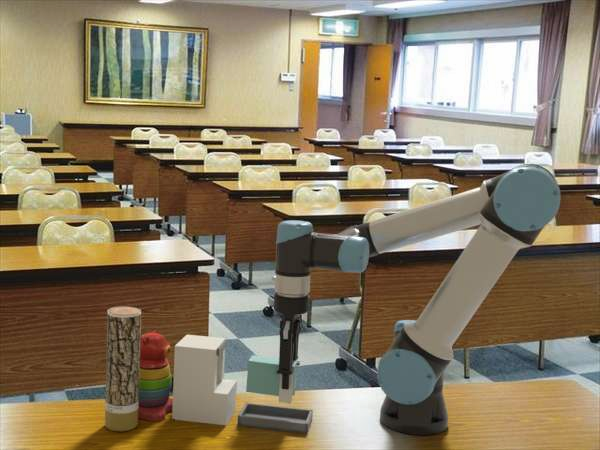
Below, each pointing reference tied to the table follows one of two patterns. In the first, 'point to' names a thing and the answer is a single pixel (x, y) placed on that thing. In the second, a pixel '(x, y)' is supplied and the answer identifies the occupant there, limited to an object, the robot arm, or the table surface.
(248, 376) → the teal block
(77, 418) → the table surface
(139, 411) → the stacking bear
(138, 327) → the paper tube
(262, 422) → the tray
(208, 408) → the dispenser
